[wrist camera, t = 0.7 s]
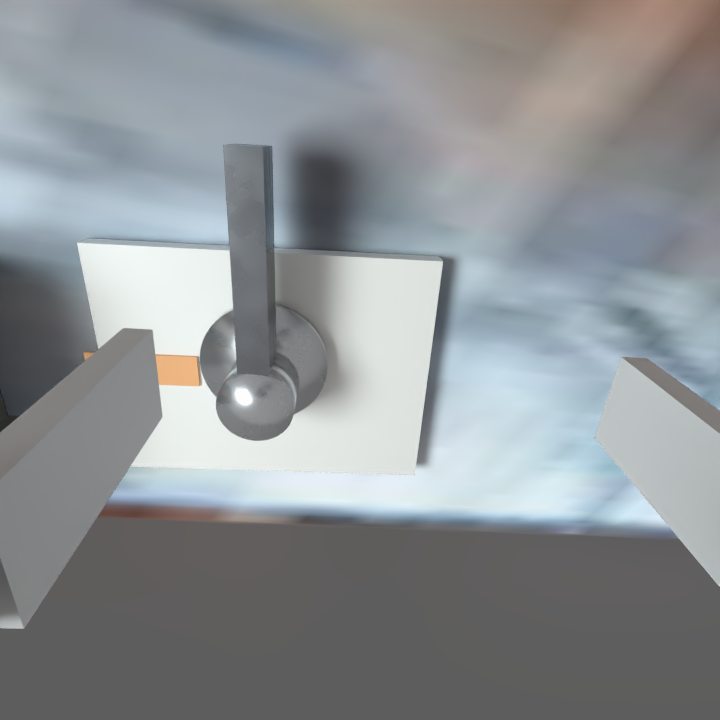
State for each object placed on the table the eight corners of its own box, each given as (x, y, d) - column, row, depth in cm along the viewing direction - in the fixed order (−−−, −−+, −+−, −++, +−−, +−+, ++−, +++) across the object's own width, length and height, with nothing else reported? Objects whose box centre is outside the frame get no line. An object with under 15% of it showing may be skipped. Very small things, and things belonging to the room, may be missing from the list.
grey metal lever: (326, 415, 36) (323, 452, 32) (208, 411, 36) (189, 448, 32) (334, 148, 28) (332, 151, 24) (182, 139, 28) (152, 140, 24)
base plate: (439, 256, 33) (443, 262, 32) (412, 463, 41) (415, 476, 39) (73, 237, 32) (59, 242, 30) (116, 454, 40) (107, 467, 38)
